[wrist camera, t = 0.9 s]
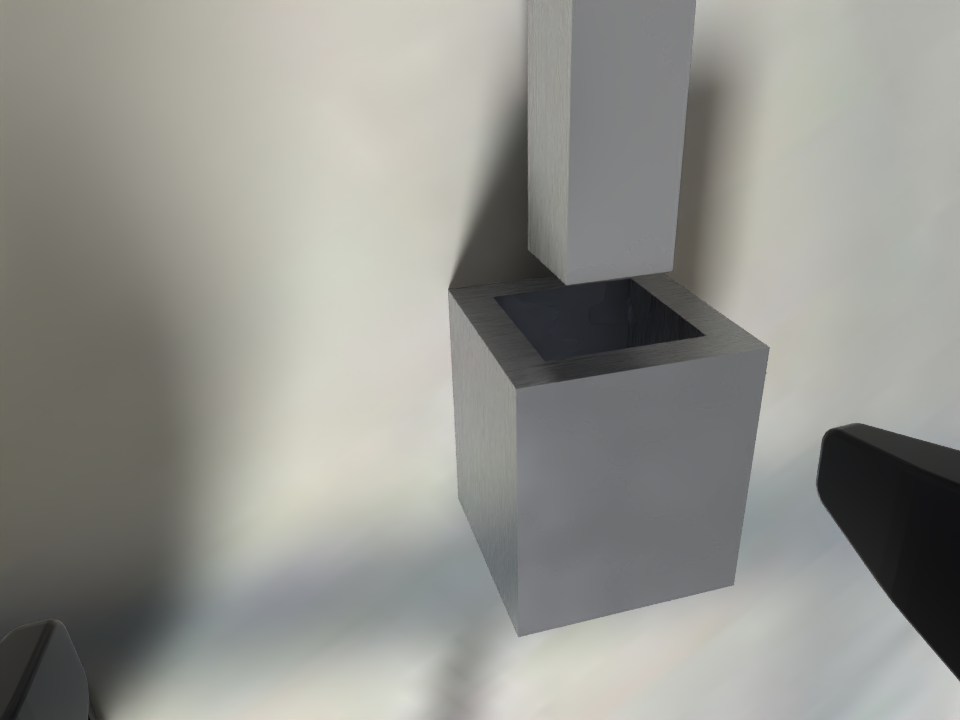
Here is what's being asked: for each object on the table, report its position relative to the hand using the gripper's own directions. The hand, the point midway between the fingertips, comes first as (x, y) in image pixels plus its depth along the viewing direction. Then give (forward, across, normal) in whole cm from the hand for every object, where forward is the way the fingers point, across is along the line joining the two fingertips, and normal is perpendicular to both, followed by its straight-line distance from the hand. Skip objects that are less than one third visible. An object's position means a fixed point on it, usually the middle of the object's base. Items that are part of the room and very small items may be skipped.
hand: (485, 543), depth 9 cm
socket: (+13, -5, +6) cm, 15 cm away
